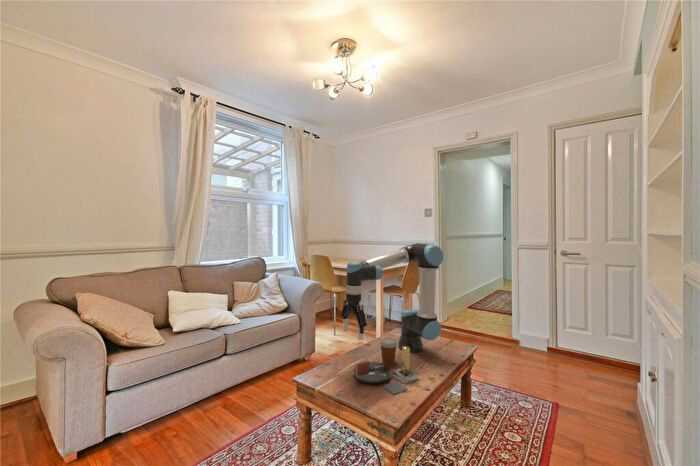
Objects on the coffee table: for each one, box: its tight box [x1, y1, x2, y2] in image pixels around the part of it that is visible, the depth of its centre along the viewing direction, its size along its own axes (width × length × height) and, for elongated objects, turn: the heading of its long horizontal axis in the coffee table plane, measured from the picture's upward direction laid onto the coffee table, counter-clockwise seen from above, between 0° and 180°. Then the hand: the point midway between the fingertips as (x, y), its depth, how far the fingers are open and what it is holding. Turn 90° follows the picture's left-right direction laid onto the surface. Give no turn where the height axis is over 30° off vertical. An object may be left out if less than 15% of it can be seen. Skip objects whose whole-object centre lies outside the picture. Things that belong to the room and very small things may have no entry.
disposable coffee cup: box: [379, 337, 398, 366], centre depth 163 cm, size 10×10×12 cm
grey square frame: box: [392, 367, 420, 385], centre depth 148 cm, size 9×9×2 cm
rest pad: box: [382, 381, 408, 396], centre depth 138 cm, size 8×8×1 cm
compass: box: [353, 360, 391, 384], centre depth 148 cm, size 18×18×7 cm
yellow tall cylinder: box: [401, 346, 411, 376], centre depth 147 cm, size 4×4×15 cm
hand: (352, 335), depth 150 cm, fingers open, 13 cm apart
